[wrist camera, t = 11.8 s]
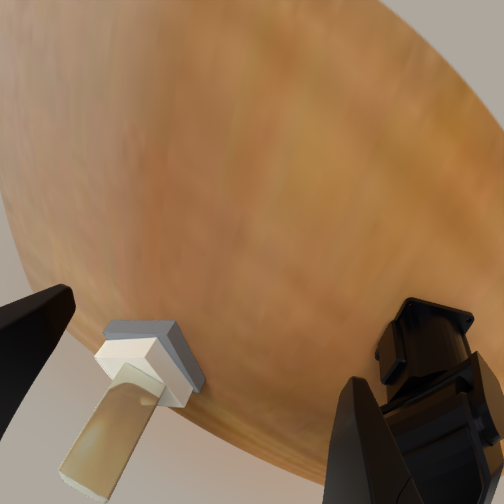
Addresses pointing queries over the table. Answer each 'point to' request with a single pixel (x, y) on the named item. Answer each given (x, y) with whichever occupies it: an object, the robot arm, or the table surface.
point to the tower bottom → (169, 339)
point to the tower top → (147, 366)
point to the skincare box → (111, 434)
